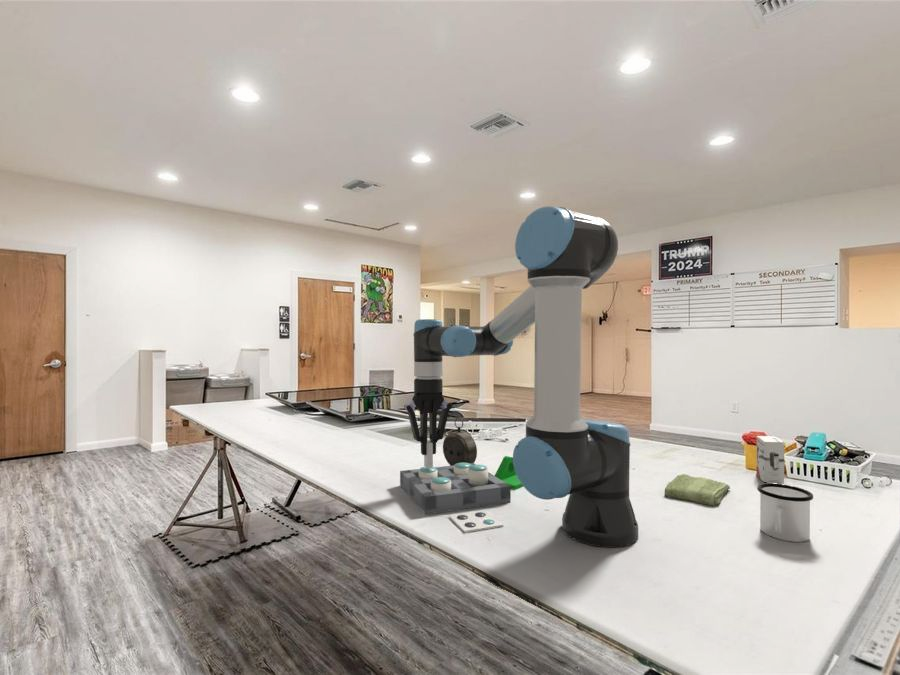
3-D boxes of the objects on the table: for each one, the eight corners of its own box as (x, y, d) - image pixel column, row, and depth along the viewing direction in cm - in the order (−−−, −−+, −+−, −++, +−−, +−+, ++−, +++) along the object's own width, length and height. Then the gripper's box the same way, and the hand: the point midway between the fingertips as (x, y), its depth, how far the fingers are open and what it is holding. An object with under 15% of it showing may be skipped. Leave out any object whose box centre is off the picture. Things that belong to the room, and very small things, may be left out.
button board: (510, 502, 115) (510, 485, 115) (425, 514, 107) (425, 496, 107) (474, 477, 136) (474, 463, 136) (400, 485, 128) (400, 470, 128)
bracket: (515, 491, 125) (515, 465, 125) (492, 484, 130) (492, 460, 130) (540, 481, 134) (540, 456, 133) (517, 475, 139) (517, 452, 139)
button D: (475, 482, 127) (475, 466, 127) (457, 484, 125) (457, 468, 125) (467, 477, 131) (467, 461, 131) (451, 479, 130) (451, 463, 129)
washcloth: (731, 491, 125) (731, 479, 125) (717, 509, 112) (717, 496, 112) (678, 481, 134) (678, 470, 134) (659, 497, 120) (659, 484, 120)
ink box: (755, 474, 139) (755, 434, 139) (774, 476, 137) (775, 436, 137) (764, 483, 131) (764, 441, 131) (784, 485, 129) (785, 442, 129)
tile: (503, 526, 101) (503, 523, 101) (464, 532, 97) (464, 530, 97) (485, 511, 109) (485, 509, 109) (449, 517, 106) (449, 514, 106)
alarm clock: (478, 473, 140) (478, 418, 140) (465, 477, 136) (465, 421, 136) (452, 466, 147) (452, 414, 147) (439, 469, 144) (439, 416, 144)
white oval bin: (762, 521, 104) (762, 480, 104) (816, 533, 97) (816, 490, 97) (749, 538, 95) (749, 493, 95) (807, 553, 89) (807, 505, 89)
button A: (454, 499, 114) (454, 481, 114) (434, 502, 112) (434, 483, 112) (446, 493, 118) (446, 475, 118) (428, 495, 117) (428, 477, 117)
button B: (440, 487, 123) (440, 470, 123) (421, 489, 121) (421, 472, 121) (433, 481, 128) (433, 465, 128) (416, 483, 126) (416, 467, 126)
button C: (491, 486, 117) (491, 468, 117) (473, 488, 115) (473, 470, 115) (482, 480, 122) (482, 463, 122) (465, 482, 120) (465, 465, 120)
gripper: (446, 375, 130) (446, 461, 130) (400, 377, 126) (400, 465, 125) (456, 377, 123) (456, 467, 123) (408, 379, 119) (408, 473, 118)
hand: (428, 466), depth 124 cm, fingers closed
